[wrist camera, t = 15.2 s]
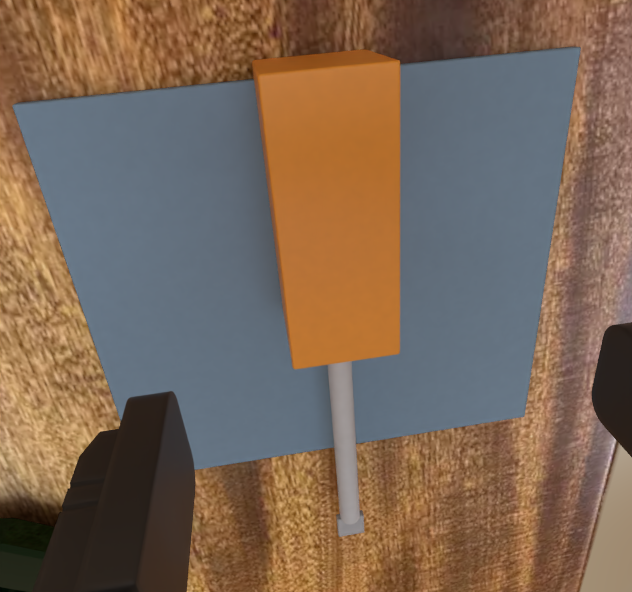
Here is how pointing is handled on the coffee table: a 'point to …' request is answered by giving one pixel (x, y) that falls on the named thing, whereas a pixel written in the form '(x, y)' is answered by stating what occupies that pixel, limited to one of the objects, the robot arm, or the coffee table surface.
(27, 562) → the clover-shaped pad
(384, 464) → the coffee table surface
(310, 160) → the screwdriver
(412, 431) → the mat
